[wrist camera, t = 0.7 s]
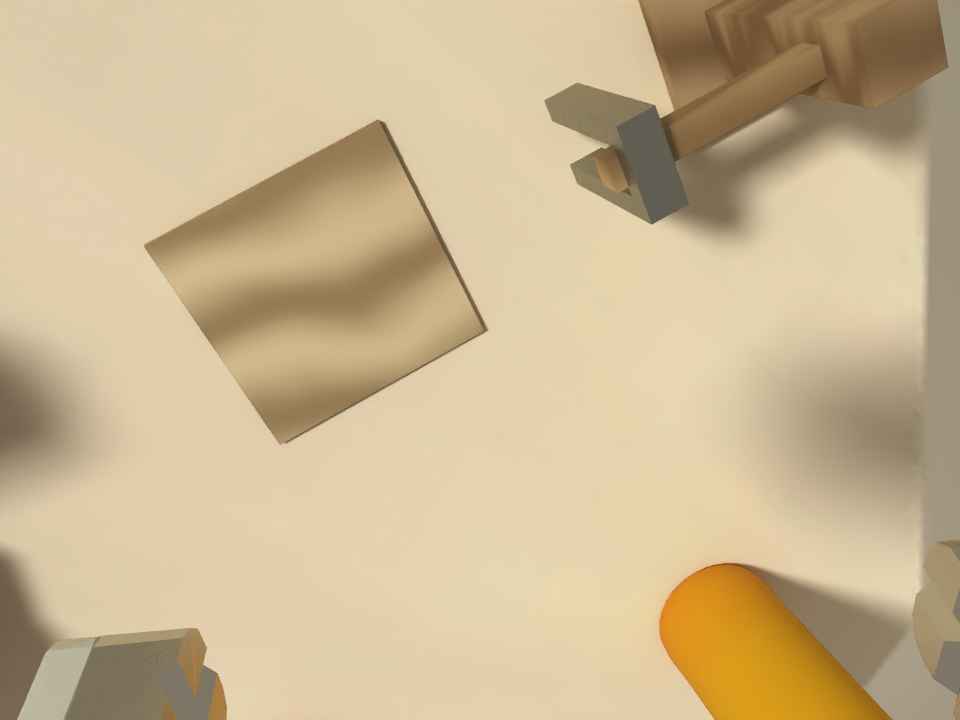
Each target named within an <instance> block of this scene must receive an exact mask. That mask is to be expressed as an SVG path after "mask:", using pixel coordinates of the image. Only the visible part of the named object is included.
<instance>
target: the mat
mask: <svg viewBox="0 0 960 720" xmlns="http://www.w3.org/2000/svg"><path fill="white" fill-rule="evenodd" d="M144 247H145V249H146V250H147V252H148V253H149V255H150V256H151V257H152V259H153V260H154V262H155V263H156V265H157V266H158V268H159V269H160V271H161V272H162V274H163V275H164V276H165V278H166V279H167V281H168V282H169V284H170V285H171V287H172V288H173V290H174V291H175V292H176V294H177V295H178V297H179V298H180V300H181V301H182V303H183V304H184V306H185V307H186V309H187V310H188V311H189V313H190V314H191V316H192V317H193V319H194V320H195V322H196V323H197V325H198V326H199V327H200V329H201V330H202V332H203V333H204V335H205V336H206V338H207V339H208V341H209V342H210V344H211V345H212V346H213V348H214V349H215V351H216V352H217V354H218V355H219V357H220V358H221V360H222V361H223V362H224V364H225V365H226V367H227V368H228V370H229V371H230V373H231V374H232V376H233V377H234V379H235V380H236V381H237V383H238V384H239V386H240V387H241V389H242V390H243V392H244V393H245V395H246V396H247V397H248V399H249V400H250V402H251V403H252V405H253V406H254V408H255V409H256V411H257V412H258V414H259V415H260V416H261V418H262V419H263V421H264V422H265V424H266V425H267V427H268V428H269V430H270V431H271V432H272V434H273V435H274V437H275V438H276V440H277V441H278V443H279V444H280V445H281V444H283V443H285V442H286V441H288V440H290V439H292V438H293V437H295V436H297V435H299V434H301V433H302V432H304V431H306V430H308V429H310V428H311V427H313V426H315V425H317V424H318V423H320V422H322V421H324V420H326V419H327V418H329V417H331V416H333V415H335V414H336V413H338V412H340V411H342V410H344V409H345V408H347V407H349V406H351V405H352V404H354V403H356V402H358V401H360V400H361V399H363V398H365V397H367V396H369V395H370V394H372V393H374V392H376V391H377V390H379V389H381V388H383V387H385V386H386V385H388V384H390V383H392V382H394V381H395V380H397V379H399V378H401V377H403V376H404V375H406V374H408V373H410V372H411V371H413V370H415V369H417V368H419V367H420V366H422V365H424V364H426V363H428V362H429V361H431V360H433V359H435V358H436V357H438V356H440V355H442V354H444V353H445V352H447V351H449V350H451V349H453V348H454V347H456V346H458V345H460V344H462V343H463V342H465V341H467V340H469V339H470V338H472V337H474V336H476V335H478V334H479V333H481V332H483V331H484V329H483V327H482V325H481V323H480V321H479V319H478V317H477V315H476V313H475V311H474V309H473V307H472V305H471V303H470V301H469V299H468V297H467V295H466V293H465V291H464V289H463V287H462V285H461V283H460V281H459V279H458V277H457V275H456V273H455V272H454V270H453V268H452V266H451V264H450V262H449V260H448V258H447V256H446V254H445V252H444V250H443V248H442V246H441V244H440V242H439V240H438V238H437V236H436V234H435V232H434V230H433V228H432V226H431V224H430V222H429V220H428V218H427V216H426V214H425V212H424V210H423V208H422V206H421V204H420V202H419V200H418V198H417V196H416V194H415V192H414V190H413V188H412V186H411V184H410V182H409V180H408V178H407V176H406V174H405V172H404V170H403V168H402V166H401V164H400V162H399V160H398V158H397V156H396V154H395V152H394V150H393V148H392V146H391V144H390V142H389V140H388V138H387V136H386V134H385V132H384V130H383V128H382V126H381V124H380V122H379V120H377V121H375V122H373V123H371V124H369V125H367V126H365V127H364V128H362V129H360V130H358V131H356V132H354V133H352V134H350V135H349V136H347V137H345V138H343V139H341V140H339V141H337V142H336V143H334V144H332V145H330V146H328V147H326V148H324V149H322V150H321V151H319V152H317V153H315V154H313V155H311V156H309V157H307V158H306V159H304V160H302V161H300V162H298V163H296V164H294V165H293V166H291V167H289V168H287V169H285V170H283V171H281V172H279V173H278V174H276V175H274V176H272V177H270V178H268V179H266V180H264V181H263V182H261V183H259V184H257V185H255V186H253V187H251V188H250V189H248V190H246V191H244V192H242V193H240V194H238V195H236V196H235V197H233V198H231V199H229V200H227V201H225V202H223V203H221V204H220V205H218V206H216V207H214V208H212V209H210V210H208V211H207V212H205V213H203V214H201V215H199V216H197V217H195V218H193V219H192V220H190V221H188V222H186V223H184V224H182V225H180V226H179V227H177V228H175V229H173V230H171V231H169V232H167V233H165V234H164V235H162V236H160V237H158V238H156V239H154V240H152V241H150V242H149V243H147V244H145V245H144Z"/></svg>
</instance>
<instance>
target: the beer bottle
mask: <svg viewBox="0 0 960 720" xmlns="http://www.w3.org/2000/svg"><path fill="white" fill-rule="evenodd" d="M660 636H661V640H662V643H663V645H664V647H665V649H666V651H667V653H668V655H669V657H670V659H671V660H672V661H673V663H674V664H675V665H676V667H677V668H678V669H679V671H680V672H681V673H682V674H683V676H684V677H685V678H686V680H687V681H688V683H689V684H690V685H691V687H692V688H693V690H694V691H695V692H696V694H697V695H698V697H699V698H700V699H701V701H702V702H703V704H704V705H705V707H706V708H707V709H708V711H709V712H710V714H711V715H712V717H713V718H714V719H715V720H892V719H891V718H890V717H889V716H888V715H887V713H886V712H885V711H884V710H883V709H882V708H881V707H880V706H879V705H878V704H877V703H876V702H875V701H874V700H873V699H872V698H871V696H870V695H869V694H868V693H867V692H866V691H865V690H864V689H863V688H862V687H861V686H860V685H859V684H858V683H857V682H856V680H855V679H854V678H853V677H852V676H851V675H850V674H849V673H848V672H847V671H846V670H845V669H844V668H843V667H842V666H841V664H840V663H839V662H838V661H837V660H836V659H835V658H834V657H833V656H832V655H831V654H830V653H829V652H828V651H827V650H826V649H825V647H824V646H823V645H822V644H821V643H820V642H819V641H818V640H817V639H816V638H815V637H814V636H813V635H812V634H811V633H810V631H809V630H808V629H807V628H806V627H805V626H804V625H803V624H802V623H801V622H800V621H799V620H798V619H797V618H796V617H795V616H794V614H793V613H792V612H791V611H790V610H789V609H788V608H787V607H786V606H785V605H784V604H783V603H782V601H781V600H780V599H779V598H778V597H777V596H776V594H775V593H774V592H773V591H772V590H771V589H770V587H769V586H768V585H767V584H766V583H765V582H764V581H763V580H761V579H760V578H759V577H758V576H756V575H755V574H754V573H753V572H751V571H749V570H747V569H745V568H743V567H740V566H736V565H731V564H725V565H716V566H711V567H708V568H705V569H702V570H700V571H698V572H696V573H694V574H692V575H691V576H690V577H688V578H687V579H685V580H684V581H683V582H682V583H681V584H680V585H679V586H678V587H677V588H676V589H675V590H674V591H673V592H672V594H671V595H670V597H669V598H668V600H667V601H666V603H665V606H664V608H663V610H662V613H661V618H660Z"/></svg>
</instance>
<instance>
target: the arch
mask: <svg viewBox="0 0 960 720" xmlns="http://www.w3.org/2000/svg"><path fill="white" fill-rule="evenodd" d="M545 104H546V106H547V109H548V111H549V114H550V116H551V119H552V121H553V122H555V123H558V124H560V125H563V126H565V127H567V128H570V129H572V130H575V131H577V132H580V133H582V134H584V135H587V136H589V137H592V138H594V139H596V140H599V141H601V142H604V143H606V144H609V145H611V146H613V147H614V149H615V152H616V154H617V157H618V160H619V162H620V165H621V168H622V170H623V173H624V176H625V178H626V181H627V184H628V188H626V189H624V190H622V191H620V192H619V193H616V192H615V191H613V190H611V189H609V188H607V187H605V186H604V185H603V183H602V180H601V178H600V175H599V173H598V170H597V167H596V165H595V162H594V160H593V157H592V156H594V155H595V154H597V153H599V152H601V151H603V150H605V149H604V148H602V147H601V148H600V149H598V150H596V151H594V152H592V153H590V154H589V155H587V156H585V157H583V158H581V159H580V160H578V161H576V162H574V163H572V164H570V166H571V169H572V171H573V174H574V176H575V179H576V181H577V184H579V185H580V186H582V187H584V188H586V189H588V190H590V191H591V192H593V193H595V194H597V195H599V196H600V197H602V198H604V199H606V200H608V201H610V202H611V203H613V204H615V205H617V206H619V207H621V208H622V209H624V210H626V211H628V212H630V213H632V214H633V215H635V216H637V217H639V218H641V219H642V220H644V221H646V222H648V223H650V224H654V223H655V222H657V221H659V220H661V219H663V218H664V217H666V216H668V215H670V214H671V213H673V212H675V211H677V210H679V209H680V208H682V207H684V206H686V205H688V201H687V198H686V195H685V192H684V189H683V186H682V183H681V180H680V177H679V174H678V172H677V169H676V166H675V163H674V160H673V157H672V154H671V151H670V148H669V145H668V142H667V139H666V136H665V133H664V130H663V127H662V124H661V121H660V118H659V115H658V112H657V109H656V106H655V105H652V104H649V103H645V102H642V101H638V100H635V99H631V98H628V97H624V96H621V95H618V94H614V93H611V92H607V91H604V90H600V89H597V88H593V87H590V86H586V85H583V84H579V83H576V84H574V85H572V86H570V87H569V88H567V89H565V90H563V91H561V92H559V93H557V94H556V95H554V96H552V97H550V98H548V99H546V100H545Z"/></svg>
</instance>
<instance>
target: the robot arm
mask: <svg viewBox="0 0 960 720" xmlns="http://www.w3.org/2000/svg"><path fill="white" fill-rule="evenodd" d="M924 568H925V569H926V571H927V573H928V574H929V576H930V577H931V579H932V581H931V582H929V583H928V584H927V585H926V586H925V587H924V588H923V589H922V590H921V591H919V592H918V593H917V594H916V599H915V604H914V609H913V614H912V617H913V625H914V632H915V639H916V642H917V645H918V648H919V650H920V653H921V656H922V659H923V660H924V662H925V664H926V666H927V668H928V670H929V671H930V673H931V675H932V677H933V678H934V679H935V680H936V681H938V682H939V683H941V684H942V685H944V686H946V687H947V688H948V689H950V690H951V691H953V692H954V693H956V694H957V700H956V706H955V710H954V716H955V718H956V720H960V539H956V540H947V541H939V542H936V543H935V544H934V545H933V546H932V547H931V548H930V549H929V550H928V553H927V556H926V560H925V563H924ZM206 649H207V647H206V645H205V643H204V641H203V639H202V637H201V635H200V632H199V630H198V629H196V628H186V629H174V630H163V631H151V632H140V633H129V634H117V635H106V636H99V637H89V638H78V639H68V640H58V641H56V642H55V643H54V644H53V645H52V647H51V648H50V649H49V650H48V651H47V652H46V653H45V655H44V657H43V660H42V662H41V664H40V667H39V669H38V672H37V674H36V676H35V679H34V681H33V683H32V686H31V688H30V691H29V693H28V695H27V698H26V700H25V703H24V705H23V707H22V710H21V712H20V714H19V717H18V719H17V720H226V714H227V706H226V701H225V695H224V690H223V686H222V684H221V681H220V679H219V676H218V674H217V673H216V672H214V671H213V670H211V669H209V668H208V667H206V666H204V665H203V662H204V658H205V653H206Z"/></svg>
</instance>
